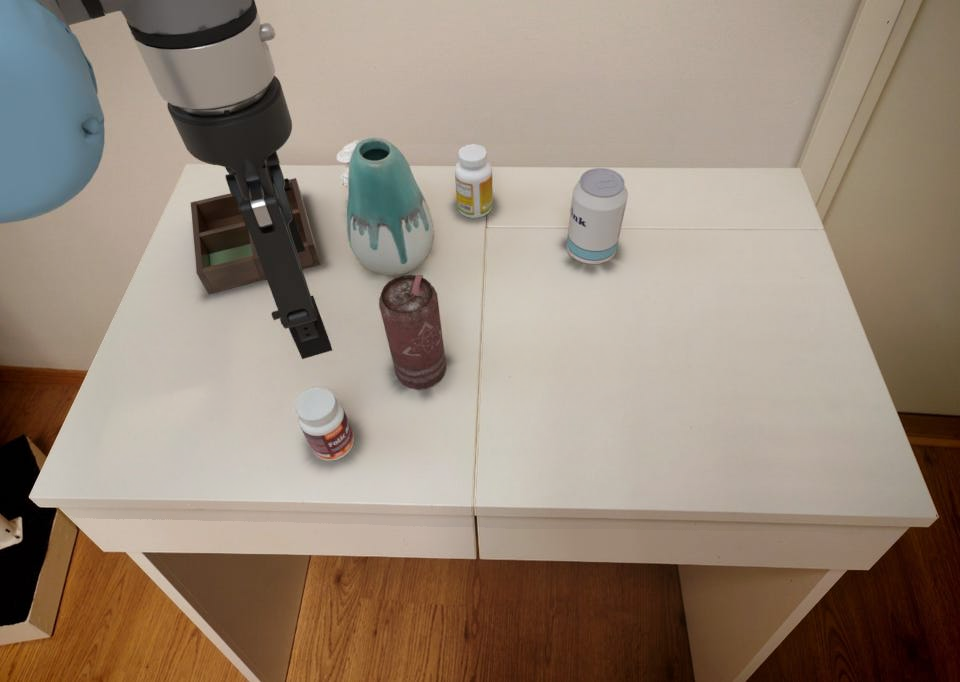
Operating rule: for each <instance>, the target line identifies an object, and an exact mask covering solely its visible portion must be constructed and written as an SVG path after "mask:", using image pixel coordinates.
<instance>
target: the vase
mask: <svg viewBox="0 0 960 682" xmlns="http://www.w3.org/2000/svg"><path fill="white" fill-rule="evenodd" d="M359 141H360V142H357V145H356V147H355V149H354V151H353V153H352V155H351V158H350V162H349V170H348V184H347V186H348V188H347V199H346V207H345V226H346V235H347V241H348V245H349V247H350V250H351V251H352V253H353V255H354V257H355V258H356V260H357V261H358V262H359V263H360V264H361V265H362V266H363V267H365V268H366V269H368V270H370V271H371V272H373V273H376V274H379V275H383V276H402V275H406V274H407V273H409V272H413V270H415V269H417V268H418V267H419V266H421V265H422V264H423V262H425V261H426V259H427V258H428V256H429V255H430V252H431V250H432V248H433V244H434V238H435V227H434V221H433V217H432V214H431V211H430V207H429V206H428V203H427V200H426V199H425V196H424V194H423V192H422V190H421V188H420V186H419V184H418V183H417V181H416V179H415V177H414V174H413V172H412V168H411V166H410V164H409V162H408V160H407V158H406V157H405V155H404V153H402V151H401V150H399V148H398V147H397V146H395V145H394V144H393V143H392V142H390V141H388V140H387V139H385V138H381V137H369V138H365V139H363V140H362V139H361V140H359Z"/></svg>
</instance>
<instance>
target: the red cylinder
mask: <svg viewBox="0 0 960 682" xmlns="http://www.w3.org/2000/svg"><path fill="white" fill-rule="evenodd" d="M378 308H379V311H380V315H381V320H382V323H383V327H384V331H385V334H386V336H385V337H386V340H387V344H388V347H389V351H390V356H391V359H392V365H393V368H394V372H395V375H396V377H397V380H398V381H399V382H400V383H401V384H402V385H403V386H405V387H407V388H410V389H413V390H427V389H429V388H432V387H434V386H435V385H437V384H438V383H439V382H441V380H442V379H443V378H444V376H445V374H446V372H447V371H446V370H447V361H446V354H445V346H444V338H443V330H442V320H441V313H440V306H439V298H438V292H437V291H436V289H435V287H434V285H432V283H431V282H430V281H429V280H428V279H426V278H425V277H424V275H423V274H417V275H416V274H401V275H398V276H395V277H394V278H392V279H390V280H389V281H388V282H387V283H386V284H385V285H384V286H383V287H382V290H381V292H380V296H379V298H378Z"/></svg>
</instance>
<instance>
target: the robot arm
mask: <svg viewBox="0 0 960 682" xmlns="http://www.w3.org/2000/svg"><path fill="white" fill-rule="evenodd" d="M116 12H120V13H121V14H122V15H123V17H124V19H125V21H126V24H127V26H128V28H129V30H130V35H131V36H132V39H133V41H134V43H135V45H136V48H137V50H138V51H139V54H140V56H141V58H142V60H143V62H144V64H145V67H146V68H147V71H148V74H149V75H150V77H151V80H152V82H153V84H154V86H155V88H156V90H157V92H158V94H159V95H160V97H161V98H162V100H164V101H165V102H167V105H166V106H167V111H168V113H169V115H170V117H171V119H172V121H173V124H174V125H175V127H176V130H177V133H178V134H179V135H180V138H181V140H182V142H183V145H184V146H185V148H186V150H187V152H188V153H189V154H190V155H191V156H192V157H193V158H195V159H196V160H198V161H200V162H203V163H205V164H209V165H212V166H219V167H223V168H225V170H226V172H227V173H228V174H225V177H224V178H225V181H226V184H227V187H228V189H229V192H230V193H231V194H232V195H233V196H234V197H235V198H236V199H237V202H238V205H239V208H238V209H239V212H240V214H241V215H242V217H243V220H244V223H245V226H246V228H247V229H248V230H249V232H250V235H251V237H252V240H253V243H254V246H255V248H256V251H257V254H258V257H259V259H260V262H261V265H262V268H263V270H264V273H265V276H266V279H265V280H266V281H267V285H268V286H269V289H270V292H271V295H272V298H273V301H274V303H275V306H276V309H277V310H274V311H272V312H271V317H272V319H273V321H276V320H279V322H280V325H281V326H282V328H284V329H285V330H286V329H288V331H289V333H290V335H291V337H292V340H293V341H294V344H295V346H296V349H297V351H298V353H299V355H300V357H301V360H305V359H309V358H311V357H315V356H318V355H323V354H326V353H328V352H332V351H333V347H332V343H331V340H330V338H329V335H328V332H327V330H326V327H325V324H324V322H323V319H322V316H321V313H320V311H319V308H318V305H317V302H316V299H315V297H314V295H312V294H311V291H310V289H309V286H308V283H307V280H306V276H305V273H304V269H303V270H302V267H301V263H300V260H299V257H298V254H297V253H299V252H303V251H305V247H304V244H303V241H302V238H301V235H300V232H299V230H298V227H297V224H296V221H295V218H294V215H293V212H292V209H291V206H290V204H289V201H288V198H287V195H286V194H285V192H288V191H292V189H291V185H290V182H289V178H288V177H287V178H285V177H284V174H283V171H282V167H281V163H280V162H281V161H280V159H279V156H278V150H280V149H281V148H283V146H285V144H286V143H287V142H288V140H289V139H290V137H291V134H292V131H293V121H292V116H291V113H290V110H289V107H288V104H287V100H286V97H285V94H284V90H283V86H282V84H281V82H280V80H279V78H278V77H277V76H276V74H275V73H276V68H275V64H274V60H273V58H272V57H273V56H272V53H271V51H270V48H269V44H268V43H267V42H269V41H272V40H274V39H275V37H276V31H275V28H274V27H273V26H272V24H271V23H270V22H264V23H261V17H260V15H259V12H258V8H257V5H256V1H255V0H0V224H11V223H16V222H23V221H26V220H31V219H34V218H38V217H41V216H43V215H46V214H49V213H51V212H53V211H55V210H57V209H59V208H60V207H63V206H64V205H65V204H67V203H68V202H70V201H71V200H73V199H74V198H76V196H78V195H79V194H80V193H81V192H82V191H83V190H84V189H85V188H86V187H87V185H88V184H89V183H90V182H91V181H92V179H93V178H94V176H95V174H96V172H97V170H98V169H99V166H100V163H101V161H102V158H103V154H104V148H105V137H106V136H105V135H106V133H105V131H106V129H105V116H104V112H103V109H102V106H101V103H100V100H99V96H98V94H99V93H98V91H99V90H98V84H97V79H96V76H95V75H96V74H95V71H94V68H93V64H92V63H91V61H90V60H89V58H88V56H87V55H86V54H85V52H84V50H83V47H82V46H81V44H80V41H79V39H78V37H77V35H75V33H74V32H73V31H72V29H71V27H70V26H72V25H75V24H80V23H83V22H84V23H85V22H87V21H91V20H95V19H99V18H102V17H105V16H106V15H109V14H112V13H116Z"/></svg>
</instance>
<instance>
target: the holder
mask: <svg viewBox="0 0 960 682" xmlns="http://www.w3.org/2000/svg"><path fill="white" fill-rule="evenodd" d="M288 179H289V178H288ZM289 182H290V185H291V189H292V191H288V192H285V194H286V195H287V198H288V201H289V204H290V206H291V209H292V212H293V215H294V218H295V221H296V224H297V227H298V230H299V232H300V235H301V238H302V241H303V244H304V247H305V251H303V252H299V253H297V254H298V257H299V260H300V263H301V267H302V270H303V271H304V270H306V269H310V268H313V267H317V266H318V267H319V266H321V260H320V257H319V252H318V249H317V245H316V242H315V238H314V235H313V230H312V227H311V223H310V220H309V217H308V213H307V209H306V204H305V201H304V197H303V194H302V191H301V188H300V186H299V183H298V180H297V178H296V177H295V178H290V179H289ZM238 208H239V205H238V202H237V199H236V198H235V197H234V196H233V195H232V194H231V193H225V194H221V195H217V196H213V197H208V198H204V199H200V200H199V199H198V200H194V201H191V202H190V211H191V212H190V213H191V226H192V235H193V248H194V259H195V269H196V275H197V276H198V277H197V278H199V280H200V282H201V283H202V285H203V287H204V289H205V291H206V292H207V294H208V295H211V294H214V293H218V292H222V291H226V290H230V289H234V288H237V287H241V286H245V285H248V284H253V283H256V282H261V281H265V280H267V279H266V276H265V273H264V270H263V268H262V265H261V262H260V259H259V257H258V254H257V251H256V248H255V246H254V243H253V240H252V237H251V235H250V232H249V230H248V229H247V228H246V226H245V223H244V220H243V217H242V215H241V214H240V212H239V209H238Z"/></svg>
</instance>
